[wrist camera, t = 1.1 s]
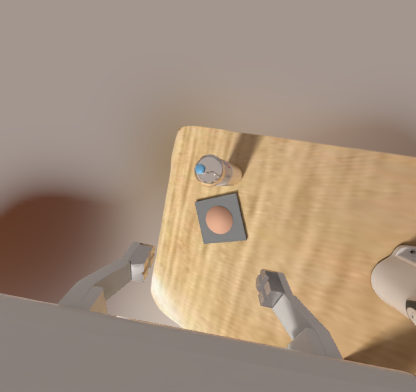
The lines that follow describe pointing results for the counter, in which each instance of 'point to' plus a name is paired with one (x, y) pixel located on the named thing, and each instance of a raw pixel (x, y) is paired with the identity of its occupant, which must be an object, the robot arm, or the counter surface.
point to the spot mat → (221, 219)
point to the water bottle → (216, 172)
